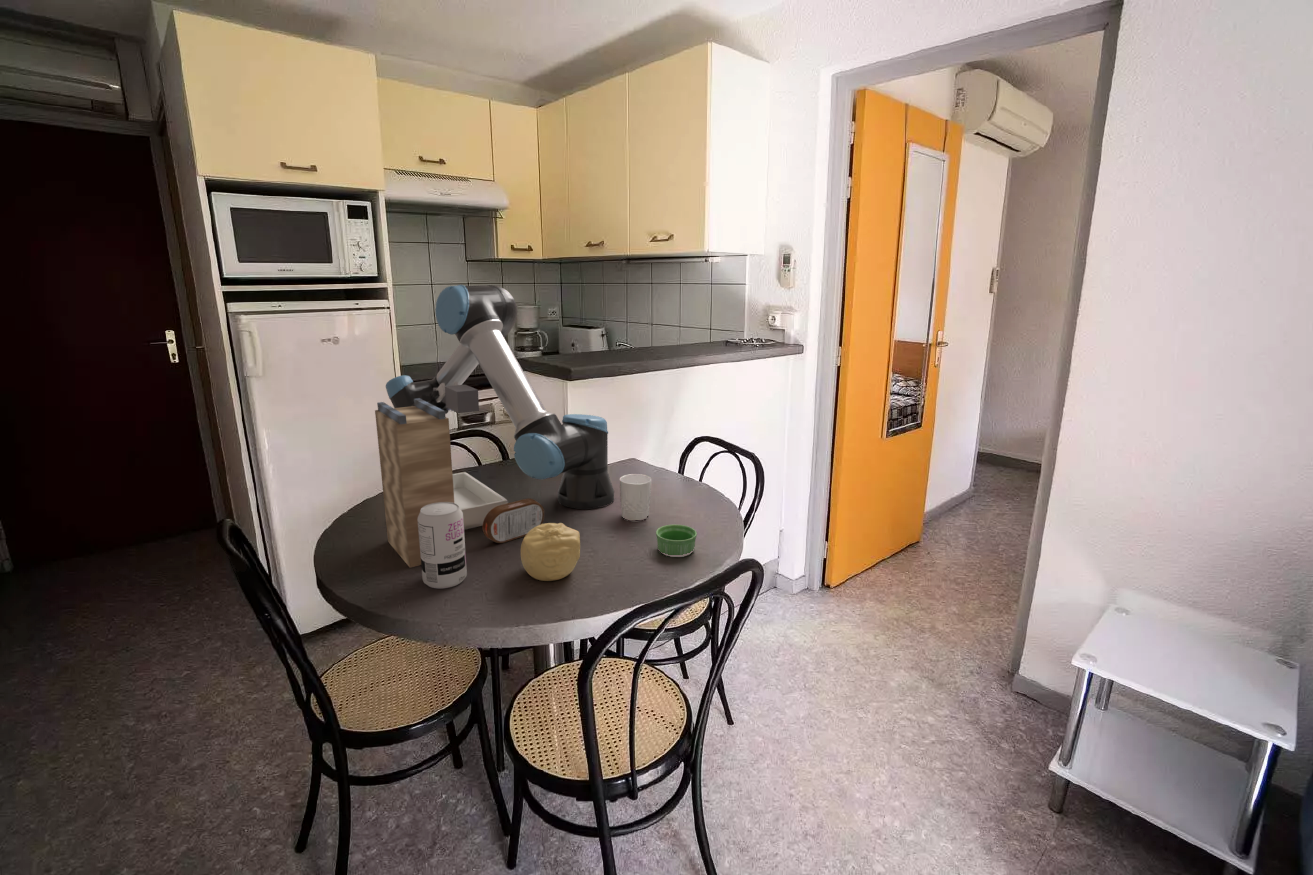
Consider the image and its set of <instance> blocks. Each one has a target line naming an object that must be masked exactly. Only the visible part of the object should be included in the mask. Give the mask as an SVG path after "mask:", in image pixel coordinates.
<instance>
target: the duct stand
mask: <svg viewBox="0 0 1313 875" xmlns="http://www.w3.org/2000/svg"><path fill="white" fill-rule="evenodd" d="M414 405H415V406H411V407H401V408H394V407H393V406H391V405H389V404H388V403H385V402H384V401H383V402H382V401H380V402H377V409H375V410H374V415H375V423H376V424H375V425H376V426H375V427H376V435H377V444H378V454H379V456H378V457H379V464H380V466H379V467H380V472H381V473H380V474H381V482H382V495H383V503H384V504H383V505H384V514H385V523H386V534H387V541H388V543H389V544H390V546H391V547H392V548H393V549H394V551H395V552H396V553H397V554H398V555H399V556H400V557H401V559H402V560H403V561H404V563H406V565H407V566H408V568H410V569H411V568H415V567H419V566H421V555H420V544H419V532H418V520H417V519H418V516H419V513H420V510H421V508H422V507H424V506H426V505H428V504H432V503H438V502H452V503H454V488H453V474H454V473H453V463H452V448H451V447H452V446H451V435H450V434H451V433H450V419H449V417H447V416H446V414H445V411H444V410H442V409H440V408H438V407H436V406H434V405H432V404H430V403H428V402H426V401H424V400H422V399H420V398H418V399H414Z"/></svg>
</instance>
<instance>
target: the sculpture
mask: <svg viewBox="0 0 1313 875" xmlns="http://www.w3.org/2000/svg"><path fill="white" fill-rule="evenodd" d="M580 558H581V536H580V531H578V530H576V529H574V528H571V527H568V526H567V525H566V524H564V523H562V522H559V523H556V522H548V523H542V524H541V525H538V526H536V527H534V528H533V529H531V530H530V531H529V532H528V533H527V534H526V536H524V538H523V539H522V542H521V545H520V559H521V560H520V561H521V563H522V567H523V568H524V570H525V571H526V573H527V574H528V575H529V576H531V578H533V579H535V580H537V581H538V580H539V581H542V582H543V581H544V582H552V581H553V582H554V581H558V580H561V579H564V578H565V577H567V576H569V575H570V574H571V573H572V572H573V571H574V569H575V567H576V565H577V563H578V561H579V559H580Z"/></svg>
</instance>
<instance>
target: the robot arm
mask: <svg viewBox="0 0 1313 875" xmlns="http://www.w3.org/2000/svg"><path fill="white" fill-rule="evenodd" d="M434 311H435V318H436V322H437V325H438V327H439V329H440V330H441V331H442V332H443V333H446V334H449V335H450V336H451V335H455V336H456V338H457V340H458V342H459V344H458V345H457V347H456V348H455V350H454V351H453V352H452V353H451V355H450V356H449V358H448V359H447V360H446V362H445V363H444V365H442V367H441V368H440V370H439V371H438V372H437V373H436V375H435V376H434V377H433V379H428V380H421V381H415V382H414V381H413V379H412V378H411V376H410V375H405V374H403V375H398V376H395V377H393V378H391V379H390V380H388V381H387V382H386V383H385V390H386V393H387V396H388V399H389V400H390V402H391V404H392V407H393V408H401V407H411V406H415V405H414V399H418V398H420V399H422V400H424V401H426V402H428V403H430V404H432V405H434V406H436V407H438V408H440V409H442V410H444V411H445V415H447V414H448V413H449V411H450V412H454V413H456V412H455V411H453V410H451V409H449V408H447V407H446V404H445V403H443V402H442V401H441V400H442V399H443V397H444V396H445V386H455V385H464V382H466V380H467V379H468V378H469V376H470V375H471V374H472V373H473V371H474V370H475V369H476V368H477V366H478V365H479V366H480V368H481V369H482V371H483V373H484V375H485V377H486V379H487V380H488V382H489V384H490V386H491V387H492V389H493V391H494V392H495V394H496V396H497V398H498V399H499V402H500V403H501V405H502V406H503V408H504V410H505V412H506V413H507V415H508V417H509V419H510V420H511V422H512V424H513V426H514V428H515V430H514V434H513V438H514V439H515V442H514V446H513V451H514V452H515V453H514V454H513V457H514V459H515V463H516V464H517V466H518V467H519V469H520V470H521V471H522V473H524V474H525V475H526V476H528V477H529V478H532V479H535V480H546V479H547V480H548V479H549V478H555V477H557V476H559V475H560V474H561V475H562V476H561V480H560V484H559V487H558V489H557V502H558V503H559V504H560V505H562V506H564V507H567V508H571V509H579V510H591V509H598V508H603V507H605V506H608V505H610V504H612V503H613V502H614V501H615V490H614V487H613V484H612V481H611V478H610V475H609V471H608V467H609V466H608V459H609V458H608V455H609V454H608V448H609V447H608V438H609V437H608V435H609V430H608V422H607V420H606V418H603V417H602V416H597V415H594V414H593V415H591V414H583V413H582V414H581V413H573V414H572V413H571V414H565V415H563V416H562V419H561V421H560V419H559V418H558V416H557V414H556V413H554V412H551V411H547V410H546V408H545V406H544V404H543V403H542V400H541V399H540V396H538V394H537V392H536V390H535V389H534V387H533V385H532V383H531V382H530V380H529V378H528V377H527V374H526V373H525V372H524V370H523V368H522V367H521V365H520V363H519V362H518V359H517V358H516V356H515V354H514V352H513V351H512V349H511V347H510V346H509V344H508V342H507V340H506V337H507V336H508V334H509V333H510V332H511V330H512V329H513V328H514V326H515V323H516V321H517V317H518V306H517V303H516V301H515V298H514V297H513V295H512V293H511V292H509V291H508V290H506V288H503V287H501V286H498V285H493V284H491V285H490V284H489V285H464V284H457V285H450V286H449V285H448V286H447V287H445V288H443V289H442V290H441V291H440V293H439V295H438V297H437V299H436V303H435V310H434ZM433 388H437V390H436V391H433ZM613 500H614V501H613ZM611 502H612V503H611Z"/></svg>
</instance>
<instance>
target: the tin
mask: <svg viewBox="0 0 1313 875" xmlns="http://www.w3.org/2000/svg"><path fill="white" fill-rule="evenodd" d="M544 520H545V509H544V506H543V505H542V504H541V503H540V502H539V501H537V500H536V499H534V498H529V497H528V498H523V499H520V500H515V501H513V502H508V503H507V504H503V505H499V506H496V507H494V508H493V509H492V510H490V511H489V512H488V514H487V515H486V517H485V519H484V521H483V525H482V531H483V534H484V536H485V537H486V538H487V539H489V540H491V541H492V542H494V543H497V544H503V543H507V542H508V543H509V542H511V541H514V540H516V539H517V540H518V539H520V538H523V537H525V536H526V534H527V533H528V532H529V531H530V530H531V529H533V528H534V527H536V526H538V525H541V524H544Z"/></svg>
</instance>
